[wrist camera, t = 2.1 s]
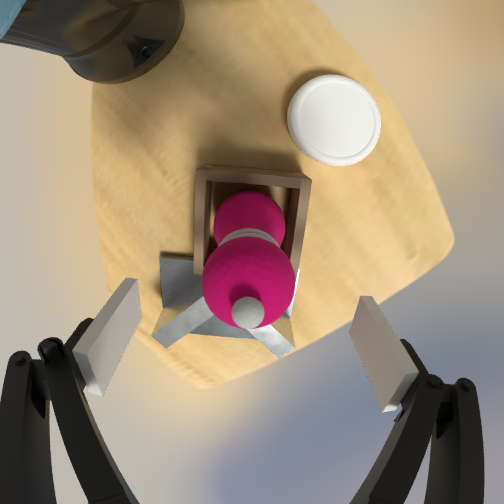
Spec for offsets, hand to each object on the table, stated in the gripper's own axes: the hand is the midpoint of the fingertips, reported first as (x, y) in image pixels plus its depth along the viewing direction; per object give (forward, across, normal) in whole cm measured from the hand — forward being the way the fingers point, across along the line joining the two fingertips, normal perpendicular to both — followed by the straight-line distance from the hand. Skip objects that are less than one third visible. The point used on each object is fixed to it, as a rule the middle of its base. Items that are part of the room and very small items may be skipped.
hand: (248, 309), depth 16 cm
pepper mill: (+19, 0, 0) cm, 19 cm away
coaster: (+19, +8, +12) cm, 24 cm away
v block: (+18, -2, -11) cm, 22 cm away
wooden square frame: (+18, 0, 0) cm, 18 cm away
